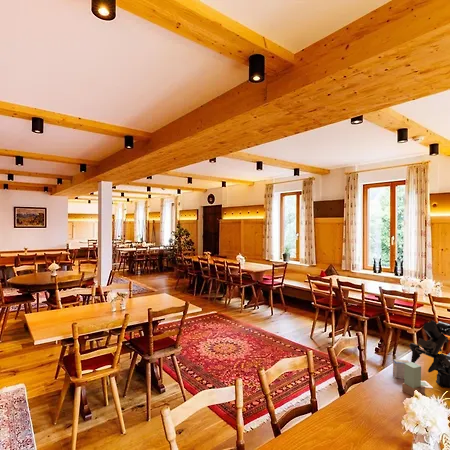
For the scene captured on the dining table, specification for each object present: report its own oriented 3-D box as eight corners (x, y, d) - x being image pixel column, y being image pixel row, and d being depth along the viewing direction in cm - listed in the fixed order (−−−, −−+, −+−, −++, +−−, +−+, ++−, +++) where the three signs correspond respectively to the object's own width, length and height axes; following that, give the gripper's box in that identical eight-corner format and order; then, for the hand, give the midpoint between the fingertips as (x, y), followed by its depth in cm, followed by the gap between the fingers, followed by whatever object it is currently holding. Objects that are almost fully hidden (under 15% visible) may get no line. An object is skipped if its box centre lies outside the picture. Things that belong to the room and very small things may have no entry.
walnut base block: (410, 388, 160) (410, 380, 160) (424, 394, 154) (424, 386, 154) (402, 391, 156) (402, 383, 156) (416, 398, 150) (416, 390, 150)
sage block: (411, 381, 158) (411, 361, 158) (420, 386, 153) (421, 366, 153) (404, 383, 156) (404, 363, 156) (413, 388, 152) (413, 368, 151)
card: (425, 381, 166) (425, 380, 166) (433, 388, 159) (433, 387, 159) (411, 380, 167) (411, 379, 167) (418, 387, 160) (418, 386, 160)
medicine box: (407, 375, 172) (407, 359, 172) (411, 379, 168) (411, 363, 168) (392, 374, 173) (392, 359, 173) (396, 378, 169) (396, 362, 169)
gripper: (411, 327, 167) (395, 350, 163) (446, 340, 149) (429, 366, 146) (422, 340, 169) (406, 363, 166) (457, 354, 152) (441, 380, 148)
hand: (419, 367), depth 156 cm, fingers open, 9 cm apart
